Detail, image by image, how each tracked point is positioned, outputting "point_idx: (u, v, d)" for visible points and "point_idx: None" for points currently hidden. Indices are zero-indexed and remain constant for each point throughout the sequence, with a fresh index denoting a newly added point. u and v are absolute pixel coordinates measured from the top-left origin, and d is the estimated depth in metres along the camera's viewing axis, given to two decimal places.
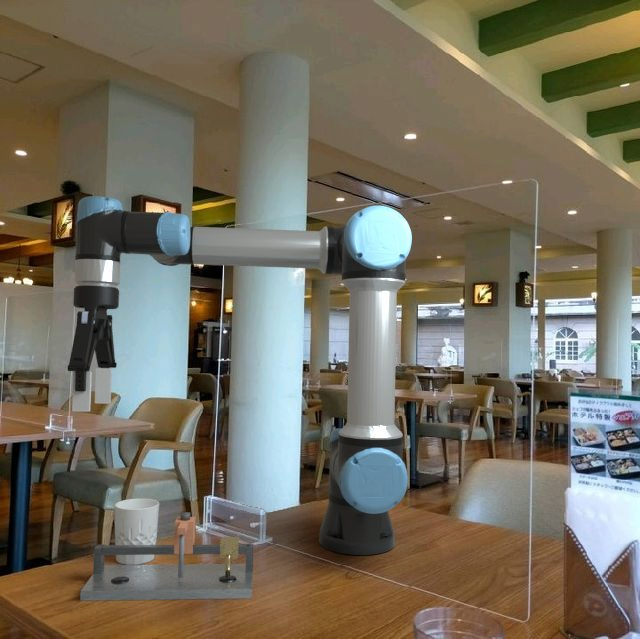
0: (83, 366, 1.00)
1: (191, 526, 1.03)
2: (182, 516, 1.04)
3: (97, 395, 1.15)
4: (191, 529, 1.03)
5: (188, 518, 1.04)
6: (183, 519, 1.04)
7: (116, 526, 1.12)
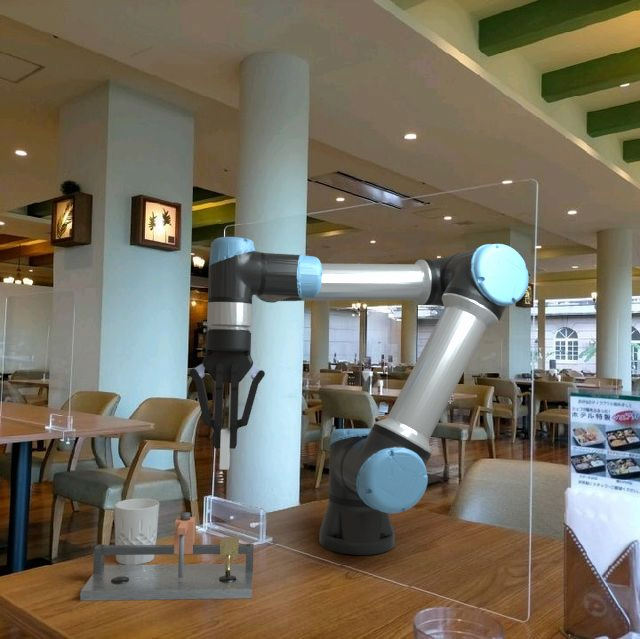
0: (206, 425, 1.05)
1: (191, 526, 1.03)
2: (182, 516, 1.04)
3: None
4: (191, 529, 1.03)
5: (188, 518, 1.04)
6: (183, 519, 1.04)
7: (116, 526, 1.12)
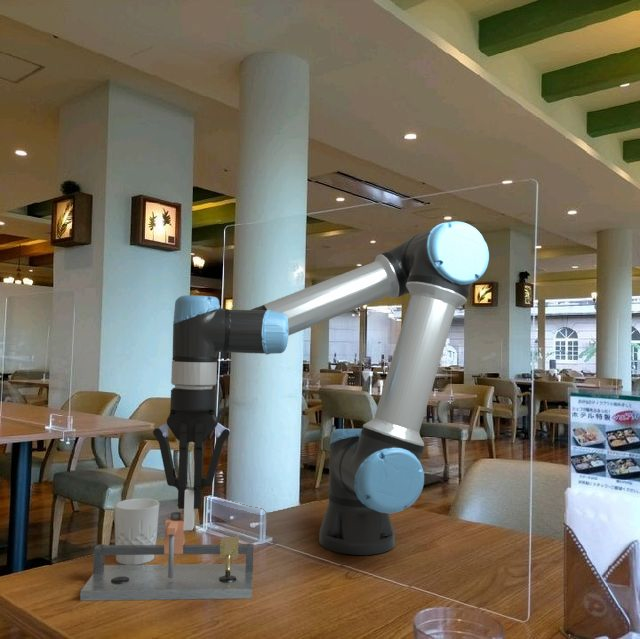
0: None
1: (181, 526, 1.03)
2: (172, 516, 1.04)
3: None
4: (181, 529, 1.03)
5: (178, 518, 1.04)
6: (173, 519, 1.04)
7: (116, 526, 1.12)
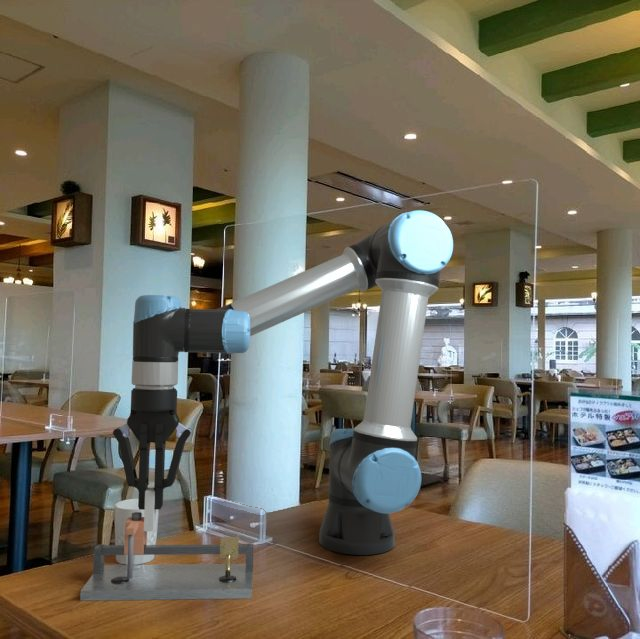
0: None
1: (142, 526, 1.03)
2: (133, 516, 1.03)
3: None
4: (142, 529, 1.03)
5: (139, 518, 1.04)
6: (134, 519, 1.03)
7: (116, 526, 1.12)
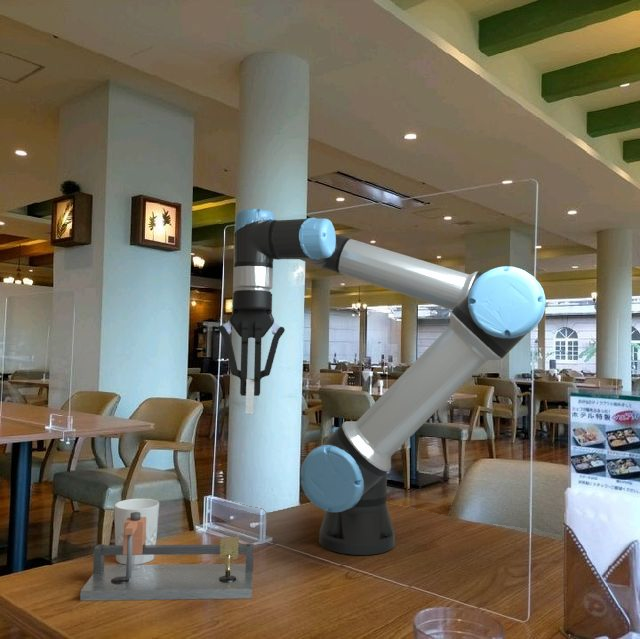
0: None
1: (140, 526, 1.03)
2: (132, 516, 1.03)
3: None
4: (140, 529, 1.03)
5: (138, 518, 1.04)
6: (133, 519, 1.03)
7: (116, 526, 1.12)
